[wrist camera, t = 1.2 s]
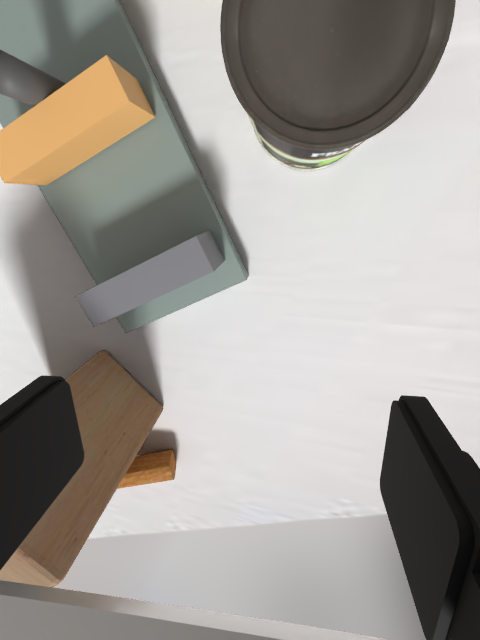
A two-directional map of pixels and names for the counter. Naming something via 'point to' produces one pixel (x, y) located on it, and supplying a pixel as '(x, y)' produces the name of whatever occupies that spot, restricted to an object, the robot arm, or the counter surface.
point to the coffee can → (329, 69)
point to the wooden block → (87, 469)
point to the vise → (124, 175)
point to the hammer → (150, 469)
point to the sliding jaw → (65, 118)
